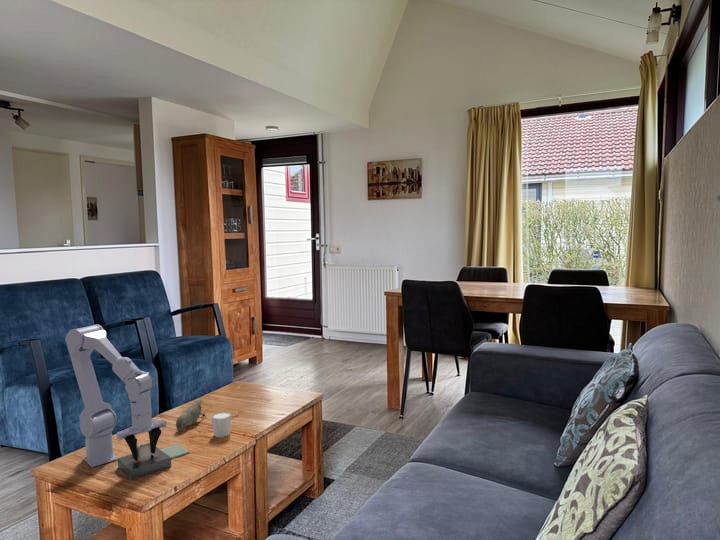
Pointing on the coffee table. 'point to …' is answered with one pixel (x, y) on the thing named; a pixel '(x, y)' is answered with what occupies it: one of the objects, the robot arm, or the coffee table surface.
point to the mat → (175, 451)
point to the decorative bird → (189, 416)
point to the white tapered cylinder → (221, 424)
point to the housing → (144, 464)
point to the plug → (143, 452)
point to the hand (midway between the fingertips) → (143, 455)
